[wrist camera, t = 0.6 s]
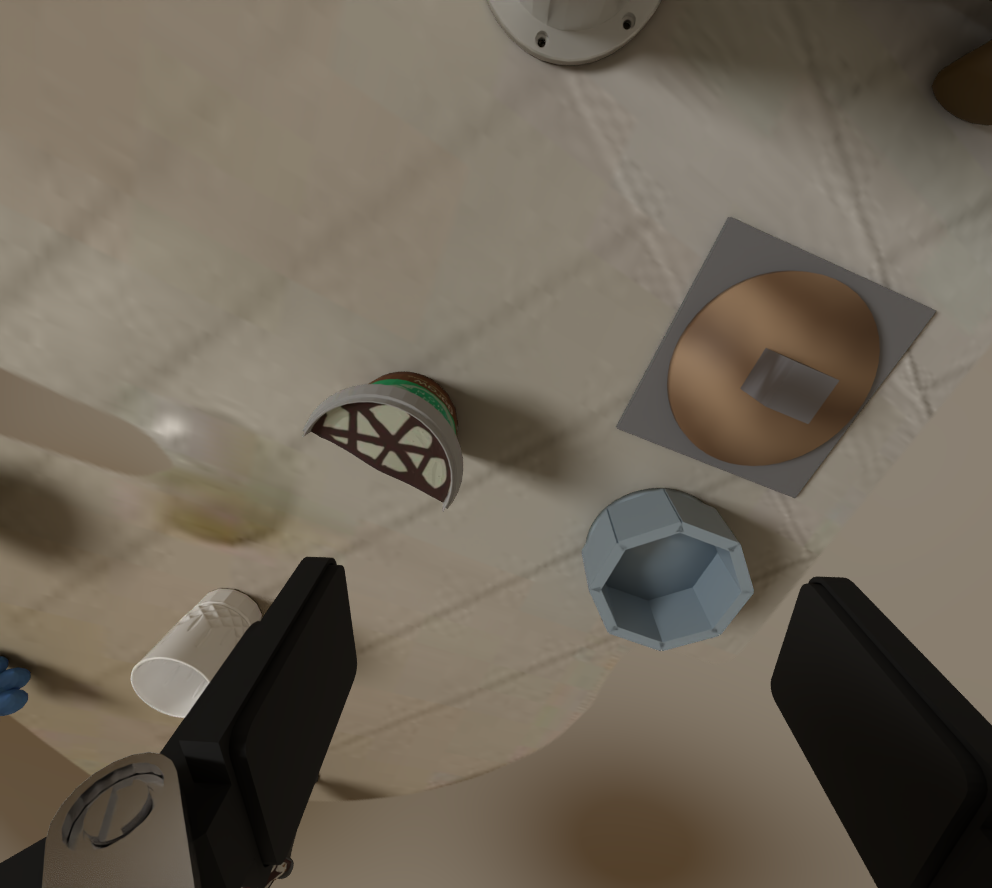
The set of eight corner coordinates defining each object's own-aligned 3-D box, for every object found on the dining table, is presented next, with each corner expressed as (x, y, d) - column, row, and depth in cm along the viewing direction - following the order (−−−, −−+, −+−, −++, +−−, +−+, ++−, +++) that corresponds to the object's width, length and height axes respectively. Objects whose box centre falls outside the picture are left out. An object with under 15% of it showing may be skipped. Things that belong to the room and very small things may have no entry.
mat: (728, 217, 36) (731, 217, 35) (931, 309, 38) (936, 310, 37) (616, 426, 43) (617, 428, 42) (792, 495, 45) (794, 498, 44)
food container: (498, 404, 42) (492, 451, 33) (464, 457, 45) (449, 515, 35) (373, 329, 40) (329, 357, 31) (343, 389, 43) (295, 432, 33)
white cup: (245, 648, 56) (191, 729, 47) (185, 611, 54) (116, 688, 45) (280, 611, 53) (231, 689, 44) (218, 570, 51) (152, 643, 42)
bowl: (623, 468, 44) (639, 505, 38) (747, 516, 46) (780, 558, 40) (564, 573, 49) (570, 620, 43) (677, 613, 51) (697, 663, 45)
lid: (735, 236, 36) (770, 236, 31) (916, 318, 37) (977, 331, 32) (633, 422, 42) (648, 448, 37) (791, 485, 44) (827, 518, 39)
